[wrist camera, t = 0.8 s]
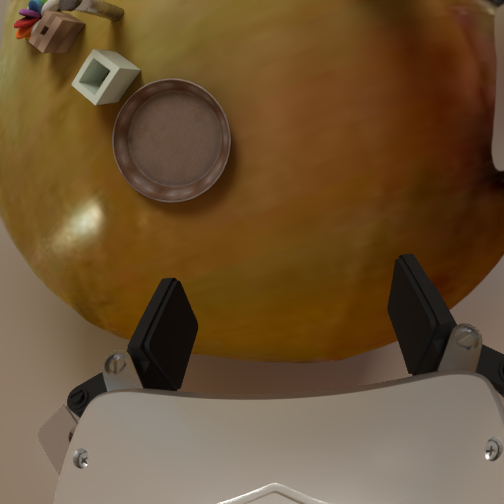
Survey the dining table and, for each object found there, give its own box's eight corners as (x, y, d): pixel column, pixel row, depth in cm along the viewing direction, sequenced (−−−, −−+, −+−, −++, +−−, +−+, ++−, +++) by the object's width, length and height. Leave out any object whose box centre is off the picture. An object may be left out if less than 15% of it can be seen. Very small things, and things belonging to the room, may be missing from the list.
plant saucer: (105, 158, 37) (95, 163, 34) (157, 60, 29) (148, 58, 26) (191, 216, 42) (186, 225, 39) (260, 122, 33) (258, 124, 31)
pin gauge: (118, 3, 22) (68, -14, 12) (129, 10, 23) (80, -8, 13) (106, 18, 24) (54, 6, 13) (116, 25, 25) (65, 12, 14)
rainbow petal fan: (24, 37, 22) (-1, 38, 16) (45, -5, 18) (20, -8, 12) (45, 42, 24) (17, 43, 18) (68, -3, 20) (42, -9, 14)
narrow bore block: (68, 13, 22) (46, 10, 17) (85, 24, 24) (62, 19, 19) (51, 41, 24) (28, 41, 19) (66, 53, 26) (42, 53, 21)
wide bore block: (116, 51, 27) (93, 48, 22) (141, 70, 29) (119, 68, 24) (95, 83, 30) (71, 84, 25) (118, 102, 32) (95, 105, 27)
